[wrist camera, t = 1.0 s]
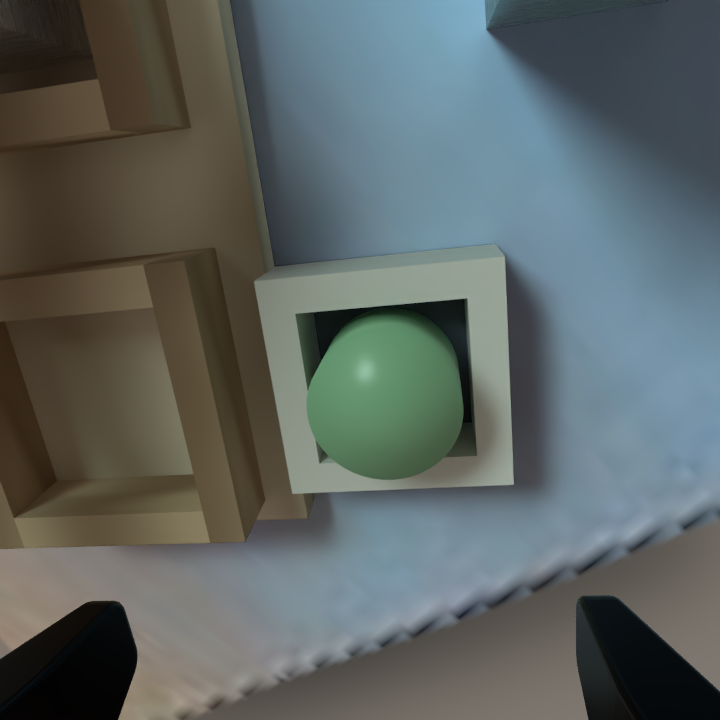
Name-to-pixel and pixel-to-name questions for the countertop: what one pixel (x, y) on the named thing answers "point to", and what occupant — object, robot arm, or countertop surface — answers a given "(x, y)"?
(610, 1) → the block
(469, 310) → the white flat square frame
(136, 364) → the board
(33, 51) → the block
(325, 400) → the button
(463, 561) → the countertop surface
